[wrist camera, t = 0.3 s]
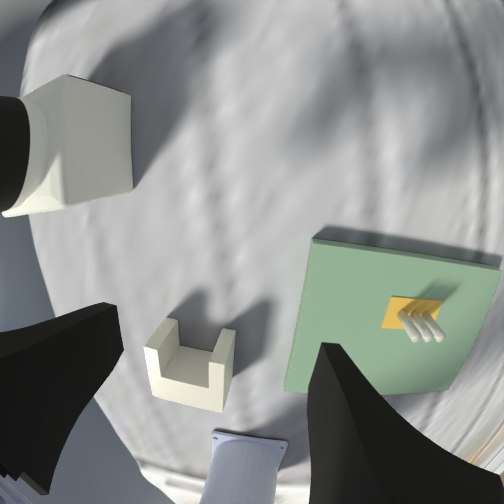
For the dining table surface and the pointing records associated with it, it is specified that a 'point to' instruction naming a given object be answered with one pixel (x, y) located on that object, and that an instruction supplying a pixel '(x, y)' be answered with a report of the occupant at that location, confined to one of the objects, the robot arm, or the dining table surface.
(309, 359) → the header board
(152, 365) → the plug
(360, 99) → the dining table surface
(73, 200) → the medicine bottle
